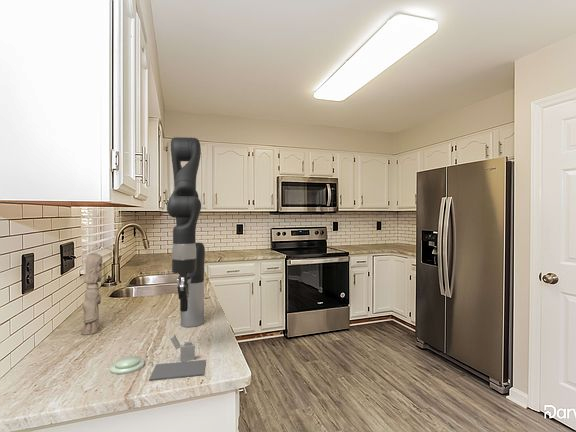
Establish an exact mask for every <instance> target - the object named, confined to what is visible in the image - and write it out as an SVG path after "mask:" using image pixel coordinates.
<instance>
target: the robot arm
mask: <svg viewBox="0 0 576 432" xmlns="http://www.w3.org/2000/svg"><path fill="white" fill-rule="evenodd" d="M201 149H202V148H201V143H200V140H199V139H198V138H197V137H186V136H185V137H184V136H183V137H181V136H180V137H179V136H178V137H177V136H176V137H172V138H171V140H170V155H171V162H172V174H173V187H174V189H173V191H172V193H171V195H170V197H169V198H168V200H167V204H166V212H167V214H168V215H169V216H170V217H172V218H175V223H176V225H175V226H174V227H173V228H172V229H173V230H172V249H171V272H172V273H173V274H179V275H178V277H177V278H176V284H177V287H176V288H177V294H178V295H177V296H178V300H180V301H179V310H180V326H182V327H186V328H192V327H193V328H194V327H199V326H201V325H203V324H204V323H205V258H206V248H205V245H204V243H203V242H196V231H197V230H196V229H197V224H198V220H199V216H200V213H201V210H202V203H201V199H200V198H199V193H198V191H197V174H198V170H199V166H200V161H201V156H202V155H201V153H202V151H201ZM182 162H186V164H185V165H183V167H182Z"/></svg>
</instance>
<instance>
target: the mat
mask: <svg viewBox="0 0 576 432" xmlns="http://www.w3.org/2000/svg"><path fill="white" fill-rule="evenodd" d="M205 368H206V359H198V360H190V361H182V362H180V361H177V362H167V363H155V365H154V368H153V370H152V372H151V374H150V377H149V378H148V381H149V382H151V381H152V382H153V381H161V380H171V379H172V380H173V379H181V378H192V377H200V376H201V377H202V376H205Z"/></svg>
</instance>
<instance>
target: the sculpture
mask: <svg viewBox="0 0 576 432" xmlns="http://www.w3.org/2000/svg"><path fill="white" fill-rule="evenodd" d="M102 264H103V256H102V255H101V254H99V253H95V252H94V253H89V254H88V255H86V257H85V265H84V266H85V271H84V272H85V273H84V278H83V282H84V283H85V284H86V289H85V291H84V292H85V293H84V297H85V298H84V300H83V302H82V309H83V328H82V329H81V331H80V334H81V335H83V336H89V335H90V336H91V335H94V334H98V333H100V331H101V328H100V327H101V326H100V313H99V305H101V302H102V301H101V300H102V294H100V285H99V283H100V282H102V280H103V279H102V278H103V274H102V270H103V265H102Z"/></svg>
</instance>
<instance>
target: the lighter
mask: <svg viewBox="0 0 576 432" xmlns="http://www.w3.org/2000/svg"><path fill="white" fill-rule="evenodd" d="M169 339H170V341H171V343H172V344H173V347H174V348H175V350H178V349H180V350H179V351H180V356H179V357H180V361H179V362H186V361H196V360H195V359H196V358H195V357H196V355H195V354H196V347H195V346H196V345H195V343H193V342H192V341H185V342H184V343H183V344H182V345H181V343H180V341H179V340H178V338H177V336H176V334H174V333H173V334H172V335H169Z"/></svg>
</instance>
